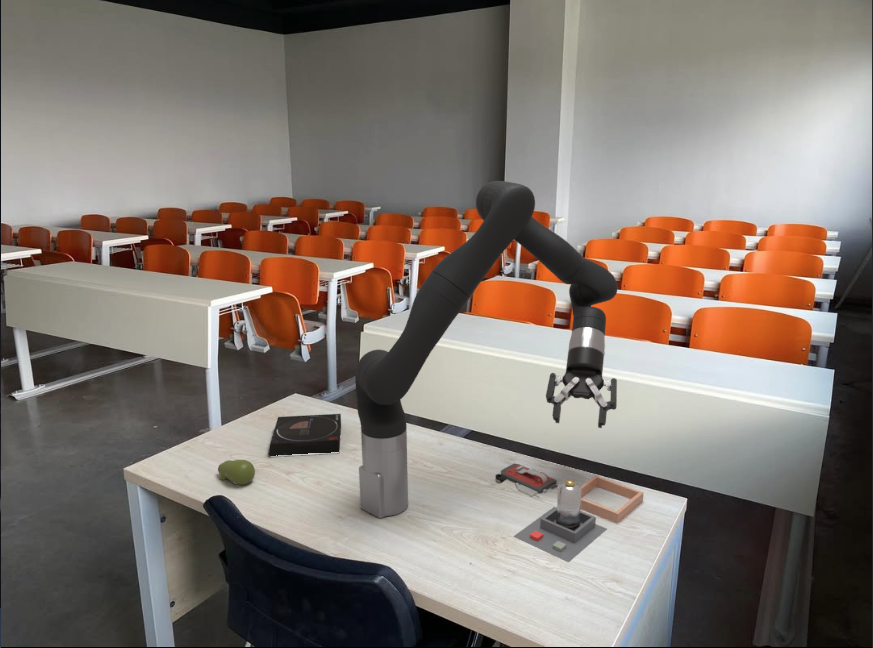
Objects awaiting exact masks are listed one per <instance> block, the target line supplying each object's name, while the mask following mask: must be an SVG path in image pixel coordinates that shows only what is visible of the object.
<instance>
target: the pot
mask: <svg viewBox="0 0 873 648" xmlns="http://www.w3.org/2000/svg"><path fill="white" fill-rule="evenodd" d="M581 485H582V491H581V509H580V510H581V511H584V512H585V511H586V513H591V515H596V516H597V517H600V518H602V519H605V520H607V521H610V522H613V523H615V524H619V522H621V521H622V520H623V519H624V518H625V517H627V516H628V515H629V514H630V513H631V512H633V511H634V510H635V509H636V508H637V507H638V506H639V505H640V504H642V503H643V502H644V492H643V491H640V490H637V489H635V488H632V487H630V486H626V485H623V484H621V483H619V482H616V481H613V480H609V479H607V478H605V477H601V476H599V475H596V474H595V475H594V476H593V477H591V478H589V480H587V481H586V482H584V483H583V484H581ZM596 487H598V488H601V489H603V490H606V491H608V492H611V493H614V494H617V495H620V496H621V497H624V498H628V499H629V500H628V501H627V502H626V503H624V505H622V506H621V507H619V509H617V510H614V509H611V508H608V507H606V506H604V505H601V504H598V503H595V502H593V501H590V500H588V499H585V498H583V497H584V496H585V495H587V494H588V493H590V491H592V490H593V489H595V488H596Z"/></svg>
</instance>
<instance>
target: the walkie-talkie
mask: <svg viewBox="0 0 873 648" xmlns="http://www.w3.org/2000/svg"><path fill="white" fill-rule="evenodd" d="M494 477H495V479H496V480H498V481H499V482H500V483H501V484H502V483H504V482H505V481H510V482H511V483H513V484H514V485H515V487H516V490H517V491H518V492H521V493H522V494H525V495H527V496H529V497H531V498H532V497H537V498H541V497H540V496H539V495H538V494H542V493H543V494H545V493H547V492H548V490H549V489H551V490H554V489H555V488H558V481H557V479H556V478H554V477H550V476H549V475H547V474H546V473H544V472H542V471H540V470H537V469H535V468H533V467H532V468H529V467H527V466H524V465H521V464H519V463H516V462H515V463H512V464H510V465H508V466H506V467H504V468H503V469H501V470H500V473H497V474H495V476H494Z"/></svg>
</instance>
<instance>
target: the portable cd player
mask: <svg viewBox="0 0 873 648" xmlns="http://www.w3.org/2000/svg"><path fill="white" fill-rule="evenodd" d="M276 419H277V420H276V422H275V427H274V429H273V432H272V437H271V439H270V443H269V448H268V454H267V455H268V456H269V457H270V456H276V455H277V456H278V455H292V454H308V453H331V452H339V450H340V451H341V438H340V435H342V414H341V413H330V414H308V415H289V416H277V418H276ZM339 453H340V452H339Z"/></svg>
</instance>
